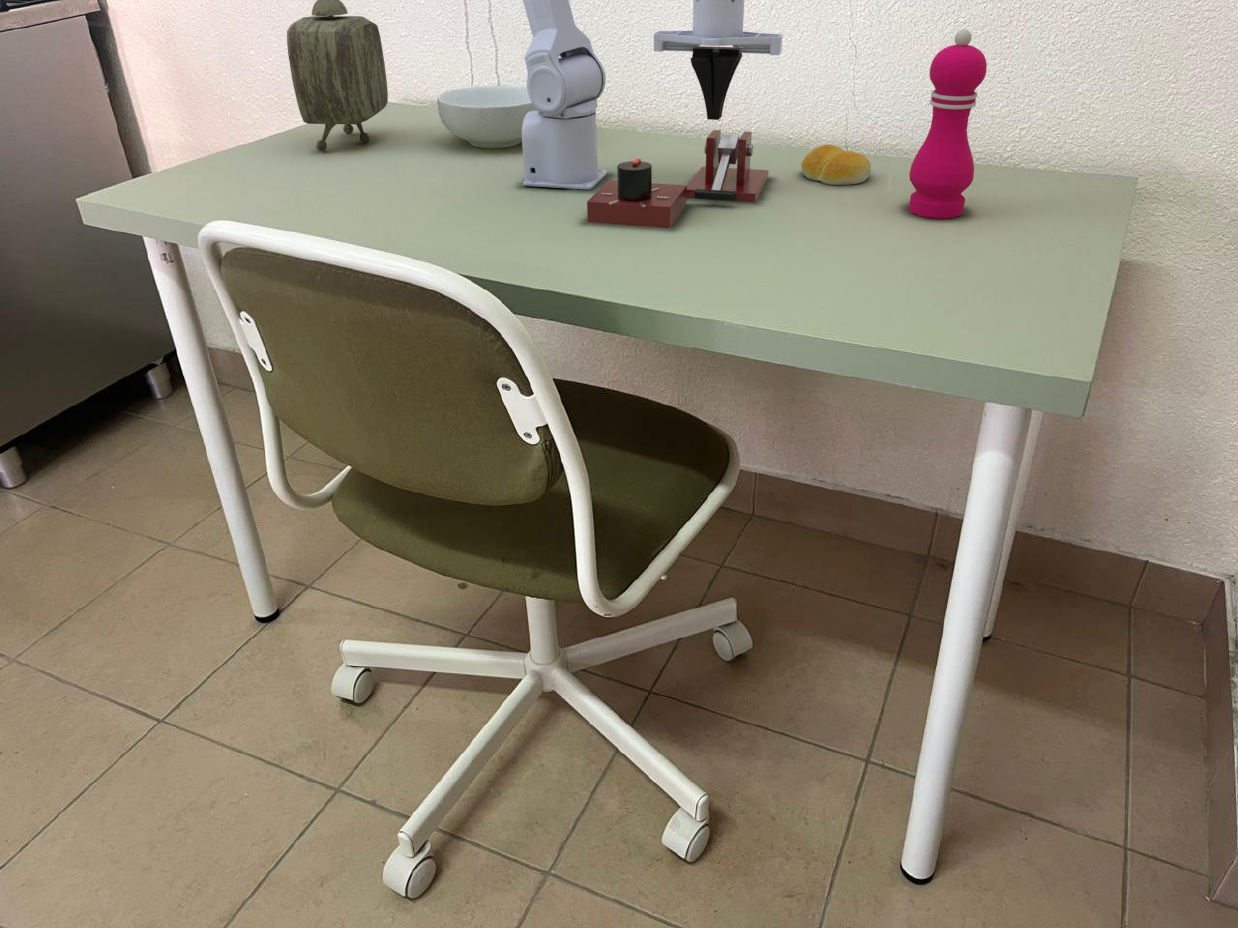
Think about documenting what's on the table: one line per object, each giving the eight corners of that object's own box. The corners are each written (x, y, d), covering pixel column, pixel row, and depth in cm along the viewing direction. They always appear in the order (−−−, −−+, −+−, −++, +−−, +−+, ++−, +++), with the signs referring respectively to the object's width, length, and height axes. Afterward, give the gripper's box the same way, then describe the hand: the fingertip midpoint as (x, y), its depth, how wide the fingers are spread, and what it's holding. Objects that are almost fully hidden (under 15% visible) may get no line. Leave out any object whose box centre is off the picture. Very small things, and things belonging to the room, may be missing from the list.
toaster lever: (735, 207, 116) (734, 191, 114) (694, 204, 118) (693, 189, 116) (750, 151, 122) (750, 135, 120) (711, 149, 124) (711, 133, 122)
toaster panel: (585, 225, 112) (585, 201, 111) (609, 201, 120) (608, 179, 119) (668, 231, 110) (668, 207, 109) (686, 206, 118) (687, 183, 116)
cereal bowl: (546, 155, 140) (543, 105, 136) (433, 157, 140) (427, 107, 136) (554, 128, 154) (552, 82, 150) (452, 130, 155) (447, 84, 151)
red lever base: (755, 203, 118) (758, 147, 115) (684, 198, 121) (685, 143, 117) (767, 179, 127) (771, 126, 124) (701, 175, 129) (703, 123, 126)
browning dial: (647, 202, 111) (647, 168, 109) (613, 200, 112) (613, 166, 110) (655, 192, 114) (655, 159, 112) (622, 190, 115) (622, 157, 113)
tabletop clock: (343, 132, 155) (314, -42, 142) (396, 132, 154) (372, -42, 141) (306, 154, 143) (271, -33, 130) (364, 155, 142) (334, -34, 128)
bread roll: (844, 191, 122) (847, 159, 120) (790, 177, 128) (792, 146, 126) (883, 178, 127) (887, 147, 124) (829, 165, 132) (832, 135, 130)
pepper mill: (968, 204, 116) (999, 25, 106) (966, 222, 111) (999, 35, 100) (907, 200, 118) (932, 24, 108) (901, 217, 113) (927, 33, 102)
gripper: (646, -6, 105) (646, 122, 112) (779, -4, 101) (770, 128, 108) (662, -13, 110) (661, 109, 118) (788, -11, 107) (779, 115, 114)
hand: (714, 118), depth 113 cm, fingers closed
